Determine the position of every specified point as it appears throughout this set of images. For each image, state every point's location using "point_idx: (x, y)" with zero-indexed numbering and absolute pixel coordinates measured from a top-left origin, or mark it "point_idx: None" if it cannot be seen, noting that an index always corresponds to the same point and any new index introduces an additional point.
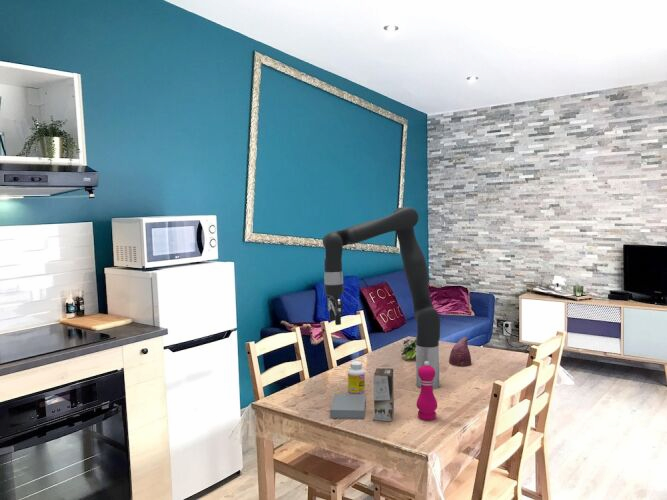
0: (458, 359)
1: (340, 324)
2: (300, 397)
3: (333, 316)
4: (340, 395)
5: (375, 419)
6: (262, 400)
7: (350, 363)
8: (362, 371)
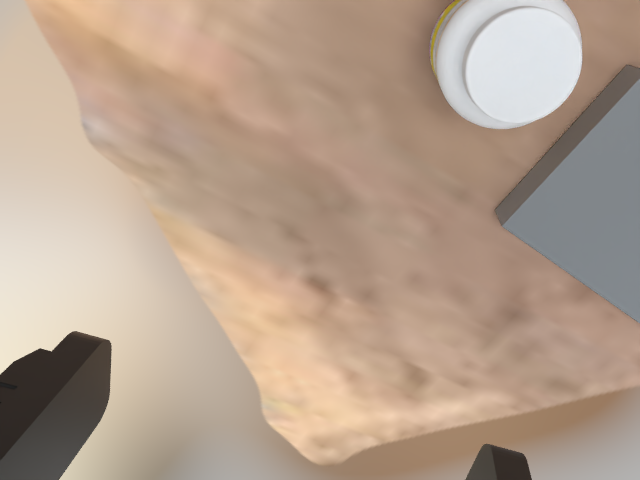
0: None
1: (519, 453)
2: (343, 312)
3: (61, 414)
4: (547, 212)
5: None
6: (291, 438)
7: (498, 120)
8: (576, 31)
